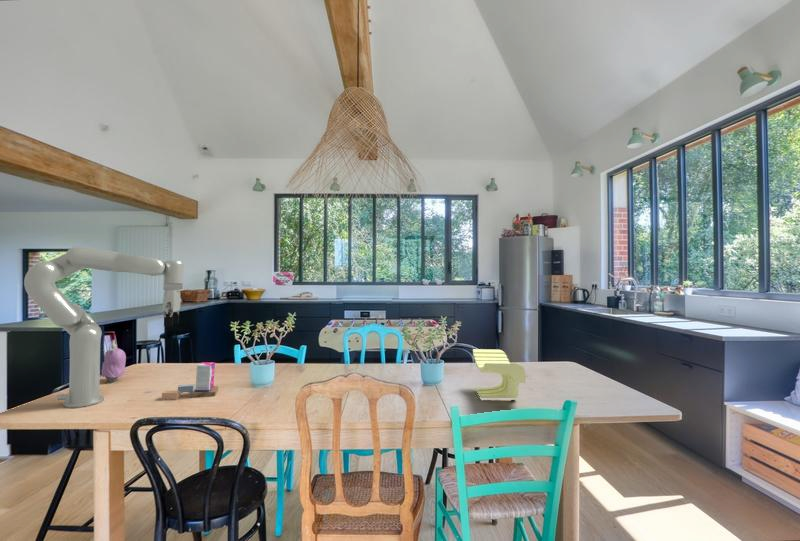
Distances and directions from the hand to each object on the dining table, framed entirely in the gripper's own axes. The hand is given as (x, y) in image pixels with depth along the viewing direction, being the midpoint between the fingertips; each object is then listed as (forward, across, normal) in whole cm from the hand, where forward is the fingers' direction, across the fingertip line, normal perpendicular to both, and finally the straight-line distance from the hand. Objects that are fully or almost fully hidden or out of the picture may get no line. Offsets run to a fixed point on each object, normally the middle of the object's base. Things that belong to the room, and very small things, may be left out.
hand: (171, 324), depth 171 cm
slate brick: (+30, +4, +8) cm, 31 cm away
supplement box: (+28, +10, +16) cm, 34 cm away
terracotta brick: (+30, +13, +4) cm, 33 cm away
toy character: (+30, -25, -31) cm, 50 cm away
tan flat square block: (+30, +10, +17) cm, 36 cm away
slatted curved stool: (+28, +47, +140) cm, 150 cm away
